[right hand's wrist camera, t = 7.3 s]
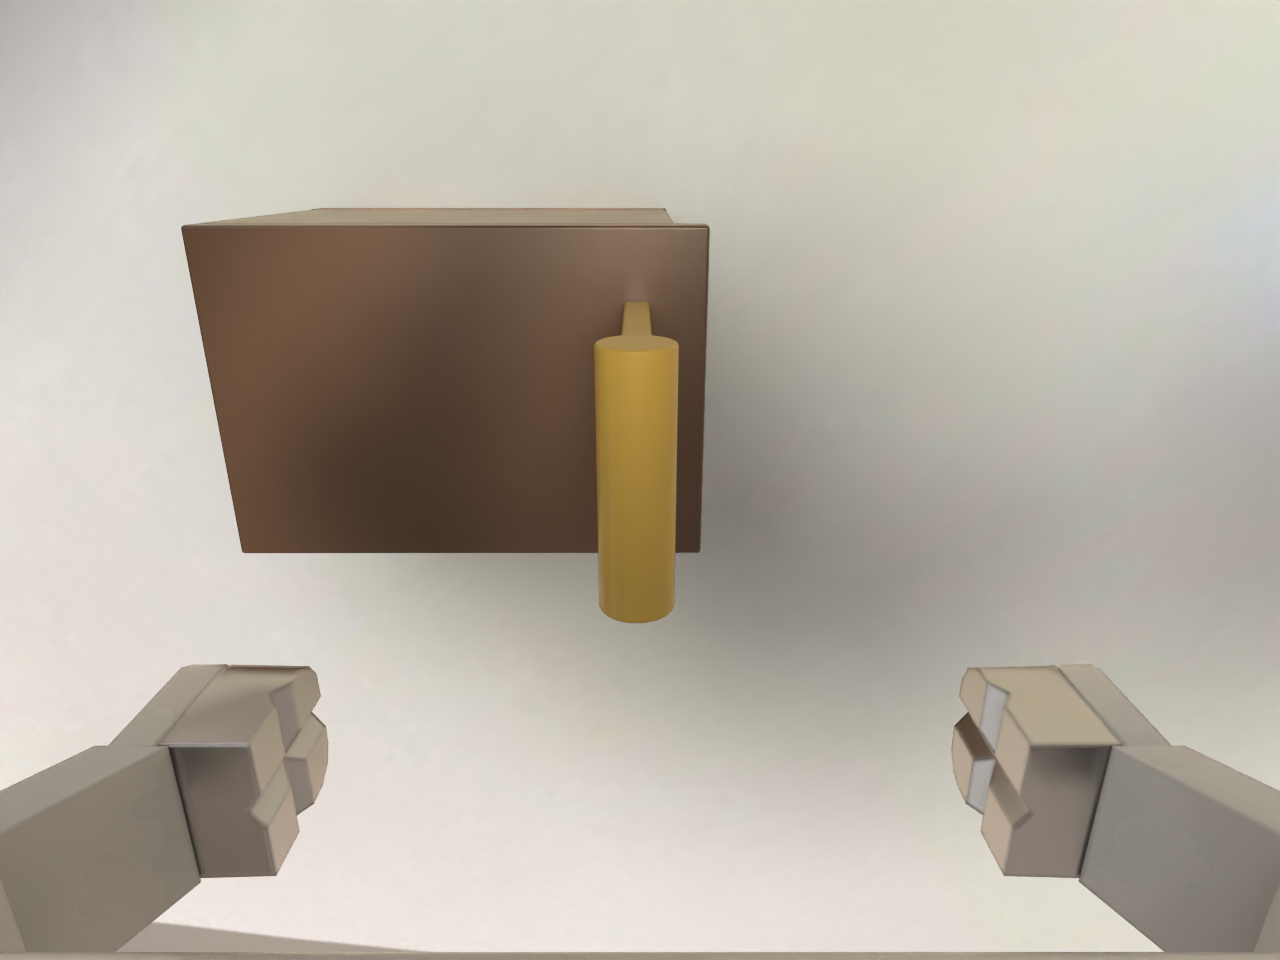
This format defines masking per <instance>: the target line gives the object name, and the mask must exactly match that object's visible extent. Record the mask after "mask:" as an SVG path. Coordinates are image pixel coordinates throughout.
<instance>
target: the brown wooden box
mask: <svg viewBox="0 0 1280 960" xmlns="http://www.w3.org/2000/svg"><path fill="white" fill-rule="evenodd" d="M206 223H209V224H674V223H673V221H672V220H671V218H670V217H669V215H668V214H667V213H666V210H665V208H320V209H312V210H307V211H299V212H290V213H282V214H274V215H265V216H257V217H248V218H240V219H231V220H223V221H215V222H206Z"/></svg>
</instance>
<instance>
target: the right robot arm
mask: <svg viewBox="0 0 1280 960" xmlns="http://www.w3.org/2000/svg"><path fill="white" fill-rule="evenodd" d="M320 697H321V694H320V690H319V685H318V680H317V675H316V673H315V672H314V671H313V670H312V669H311V668H310V667H309V666H265V665H230V666H229V665H226V664H220V665H190V666H186V667H182V668H181V669H180V670H179V671H178V672H177V673H176V674H175V675H174V676H173V677H172V678H171V679H170V680H169V681H168V682H167V684H166V685H165V686H164V687H163V688H162V689H161V690H160V691H159V692H158V693H157V694H156V695H155V696H154V697H153V698H152V700H151V701H150V702H149V703H148V704H147V705H146V706H145V707H144V708H143V709H142V710H141V711H140V712H139V713H138V714H137V716H136V717H135V718H134V719H133V720H132V721H131V722H130V723H129V724H128V725H127V726H126V727H125V728H124V729H123V730H122V732H121V733H120V734H119V735H118V736H117V737H116V738H115V739H114V740H113V741H112V742H111V743H110V744H109V745H108V746H94V747H91V748H89V749H87V750H85V751H83V752H81V753H79V754H77V755H75V756H73V757H71V758H68V759H66V760H64V761H62V762H60V763H58V764H56V765H54V766H52V767H50V768H48V769H45V770H43V771H41V772H39V773H37V774H35V775H33V776H31V777H29V778H27V779H25V780H22V781H20V782H18V783H16V784H14V785H12V786H10V787H8V788H6V789H4V790H2V791H0V960H1280V791H1278V790H1276V789H1274V788H1272V787H1270V786H1268V785H1266V784H1264V783H1262V782H1259V781H1257V780H1255V779H1253V778H1251V777H1249V776H1247V775H1245V774H1243V773H1241V772H1239V771H1237V770H1234V769H1232V768H1230V767H1228V766H1226V765H1224V764H1222V763H1220V762H1218V761H1216V760H1214V759H1211V758H1209V757H1207V756H1205V755H1203V754H1201V753H1199V752H1197V751H1195V750H1193V749H1191V748H1189V747H1186V746H1172V745H1171V744H1170V743H1169V742H1168V741H1167V740H1166V739H1165V738H1164V737H1163V736H1162V735H1161V734H1160V733H1159V732H1158V730H1157V729H1156V728H1155V727H1154V726H1153V725H1152V724H1151V723H1150V722H1149V721H1148V720H1147V719H1146V718H1145V717H1144V715H1143V714H1142V713H1141V712H1140V711H1139V710H1138V709H1137V708H1136V707H1135V706H1134V705H1133V704H1132V703H1131V702H1130V701H1129V699H1128V698H1127V697H1126V696H1125V695H1124V694H1123V693H1122V692H1121V691H1120V690H1119V689H1118V688H1117V687H1116V686H1115V684H1114V683H1113V682H1112V681H1111V680H1110V679H1109V678H1108V677H1107V676H1106V675H1105V674H1104V673H1103V672H1102V671H1101V670H1100V669H1099V668H1097V667H1095V666H1092V665H1090V664H1075V665H1049V666H1024V667H976V668H967V670H966V672H965V674H964V676H963V678H962V683H961V689H960V694H959V697H960V698H961V700H962V702H963V703H964V705H965V707H966V708H967V710H968V713H967V714H966V715H965V716H964V717H963V718H962V719H961V720H960V721H959V722H958V723H957V724H956V725H955V726H954V732H953V740H952V749H951V750H952V760H953V771H954V775H955V778H956V781H957V785H958V788H959V790H960V792H961V794H962V796H963V798H964V800H965V802H966V804H967V805H969V806H970V807H972V808H973V809H975V810H976V811H978V812H979V813H980V814H982V815H983V820H982V826H981V833H982V835H983V837H984V839H985V841H986V843H987V845H988V847H989V849H990V850H991V852H992V854H993V856H994V858H995V860H996V862H997V864H998V866H999V868H1000V869H1001V871H1002V873H1003V875H1004V876H1025V877H1061V878H1079V882H1080V883H1081V884H1083V885H1084V886H1085V887H1086V888H1087V889H1089V890H1090V891H1091V892H1092V893H1093V894H1095V895H1096V896H1097V897H1098V898H1100V899H1101V900H1102V901H1103V902H1104V903H1106V904H1107V905H1108V906H1109V907H1111V908H1112V909H1113V910H1114V911H1115V912H1117V913H1118V914H1119V915H1120V916H1122V917H1123V918H1124V919H1125V920H1126V921H1128V922H1129V923H1130V924H1131V925H1132V926H1134V927H1135V928H1136V929H1137V930H1139V931H1140V932H1141V933H1142V934H1143V935H1145V936H1146V937H1147V938H1148V939H1150V940H1151V941H1152V942H1153V943H1154V944H1156V945H1157V946H1158V947H1159V948H1161V949H1162V950H1163V951H1164V952H116V951H117V950H118V949H120V948H121V947H122V946H123V945H125V944H126V943H127V942H128V941H129V940H131V939H132V938H133V937H134V936H136V935H137V934H138V933H139V932H140V931H142V930H143V929H144V928H145V927H146V926H148V925H149V924H150V923H151V922H153V921H154V920H155V919H156V918H158V917H159V916H160V915H161V914H162V913H164V912H165V911H166V910H167V909H169V908H170V907H171V906H172V905H173V904H175V903H176V902H177V901H178V900H180V899H181V898H182V897H183V896H184V895H186V894H187V893H188V892H189V891H191V890H192V889H193V888H194V887H195V886H197V885H198V884H199V883H200V882H201V879H200V878H218V877H253V876H276V875H277V873H278V871H279V870H280V868H281V866H282V864H283V862H284V860H285V858H286V856H287V854H288V852H289V850H290V849H291V847H292V845H293V843H294V841H295V839H296V837H297V835H298V833H299V826H298V821H297V815H298V814H300V813H301V812H302V811H304V810H305V809H307V808H308V807H310V806H311V805H313V804H314V802H315V800H316V798H317V796H318V794H319V792H320V790H321V788H322V786H323V782H324V777H325V773H326V768H327V764H328V738H327V731H326V726H325V725H324V724H323V723H322V722H321V721H320V720H319V719H318V718H317V717H316V716H315V715H314V714H313V713H312V710H313V708H314V707H315V705H316V703H317V702H318V700H319V698H320Z"/></svg>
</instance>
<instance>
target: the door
mask: <svg viewBox="0 0 1280 960" xmlns="http://www.w3.org/2000/svg"><path fill="white" fill-rule="evenodd" d="M181 229H182V235H183V240H184V245H185V251H186V256H187V261H188V267H189V272H190V277H191V282H192V288H193V293H194V298H195V304H196V309H197V314H198V320H199V325H200V330H201V336H202V341H203V346H204V351H205V357H206V362H207V367H208V373H209V378H210V383H211V389H212V394H213V399H214V404H215V410H216V415H217V420H218V426H219V431H220V436H221V442H222V447H223V452H224V457H225V463H226V468H227V473H228V479H229V484H230V489H231V495H232V500H233V505H234V511H235V516H236V521H237V526H238V532H239V537H240V542H241V548H242V552H243V553H598V567H599V605H600V608H601V610H602V611H603V613H604V614H606V615H607V616H608V617H610V618H612V619H615V620H618V621H622V622H627V623H646V622H652V621H656V620H658V619H661V618H663V617H665V616H667V615H668V614H669V613H670V612H671V611H672V609H673V607H674V590H675V553H698V552H700V545H701V510H702V476H703V441H704V407H705V373H706V338H707V304H708V270H709V235H710V228H709V226H708V225H706V224H209V223H199V224H190V225H184V226H182V228H181Z"/></svg>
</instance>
